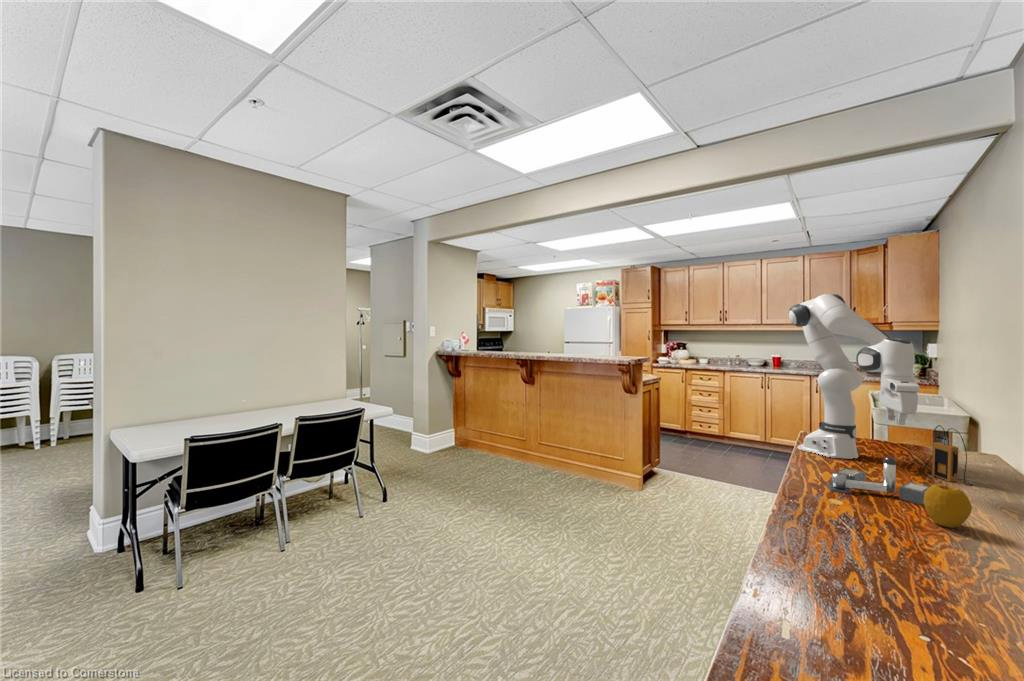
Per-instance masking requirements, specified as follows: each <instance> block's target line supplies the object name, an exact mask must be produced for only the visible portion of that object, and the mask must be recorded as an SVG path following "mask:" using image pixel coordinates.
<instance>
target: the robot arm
mask: <svg viewBox="0 0 1024 681" xmlns="http://www.w3.org/2000/svg"><path fill="white" fill-rule="evenodd" d="M788 318H789V320H790V322H791V324H792V325H794V326H795V327H799V328H800V327H801V328H802V331H803V335H804V337H805V340H806V343H807V346H808V348H809V350H810V352H811V353H812V357H813V358H814V360H815V361H816V362H817V363H818V364H819V365H820V367H822V369H823V370H824V371H823V372H821V373H820V374H819V375H818V377H817V381H816V382H817V385H818V387H819V389H820V390H821V394H822V400H823V407H824V408H823V409H824V410H823V413H824V414H823V420H822V421H820V422H818V423H817V427H818V428H817V429H816V430H814V431H813V432H810V433H808V434H807V435H805V437H804V439H803V443H801V444H799V445H798V446H797V450H799V451H804V452H807V453H810V452H812V453H811V454H814V453H816V454H815V455H818V454H819V455H818V456H822V455H823V456H822V457H825V456H826V458H829V457H831V458H830V459H847V460H849V459H850V460H852V459H853V458H855V459H859V458H858V457H860V456H859V454H858V450H857V443H856V436H857V425H856V406H855V404H854V402H853V399H852V392H853V391H855V390H857V389H858V388H860V387H861V386H862V384H863V382H864V381H863V375H862V374H861V373H860V371H858V370H857V369H856V367H855V366H854V365H853V362H852V361H850V360H849V358H848V357H847V355H846V354H845V352H844V351H843V348H842V347H841V344H840V343H839V340H838V338H837V337H836V335H838V336H839V335H841V336H845V337H852V338H856V339H860V340H863V341H865V342H867V343H868V344H870V346H865V347H862V348H861V349H859V350H858V352H857V353H856V358H855V360H856V364H857V366H858V367H859V368H860V369H861V370H862V371H865V372H869V373H880V390H879V397H878V398H879V399H878V402H879V403H878V404H879V405H880V406H881V407H885V412H886V416H887V420H888V421H891V422H892V421H893V422H894V421H896V424H897V425H899V426H905V425H906V420H907V418H908V415H915V414H916V413H917V410H918V399H919V397H918V394H919V392H920V390H921V388H920V385H919V384H918V383H917V382H916V380H915V374H914V366H915V364H916V355H915V347H914V344H913V342H912V341H911V340H909V339H905V338H903V337H902V338H900V337H890V336H889V335H888V334H887V333H885V332H884V331H883V330H882V329H880V328H879V327H878V326H876V325H875V324H874V323H872V322H870V321H869V320H866V319H865V318H863V317H862V316H860V315H859V314H857V313H856V312H855V311H853V310H852V309H851V308H850V307H849V306H848V305H847V303H846V301H845V299H844V297H842V296H841V295H839V294H836V293H834V294H832V293H831V294H830V293H824V294H821V295H818V296H817V297H815V298H811V299H810V300H805V301H804V302H801V303H797V304H795V305H792V306H791V307H790V308H789V310H788ZM895 412H897V415H898V416H897V417H898V418H896V415H895ZM853 460H854V459H853Z"/></svg>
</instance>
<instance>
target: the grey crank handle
mask: <svg viewBox="0 0 1024 681" xmlns="http://www.w3.org/2000/svg"><path fill="white" fill-rule="evenodd" d="M882 462H883V464H882V465H883V467H882V468H883V471H882V473H883V474H882V483H879V482H870V481H866V482H864V481H855V480H847V479H846V475H844V474H840V473H835V472H832V473H831V484H832V486H834V487H838V488H846V487H848V488H849V489H851V488H852V489H860V490H867V491H876V492H883V493H884V492H885V493H889V494H895V493H896V484H897V483H896V482H897V481H896V480H897V477H896V476H897V474H896V473H897V460H896V459H895V457H892V456H886V457H884V458H883V459H882Z"/></svg>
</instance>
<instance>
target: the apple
mask: <svg viewBox="0 0 1024 681" xmlns="http://www.w3.org/2000/svg"><path fill="white" fill-rule="evenodd" d="M923 502H924V505H923V506H924V508H925V512H927V514H928V515H929V517H930V519H931V520H932V521H933V522H934V523H935V524H936V525H939V526H940V527H941V526H942V527H945V528H950V529H955V528H958V527H960V526H961V525H963V523H965V522H966V521H967V520H968V518H969V516H970V515H971V513H972V510H973V509H972V508H973V506H972V503H971V501H970V499H969V497H968V496H967V494H965V492H964V491H962V490H961V489H960V488H958V487H954V486H951V485H948V484H942V483H934V484H932V485H931V487H929V488H928V489H927V491H926V492H925V494H924V501H923Z"/></svg>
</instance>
